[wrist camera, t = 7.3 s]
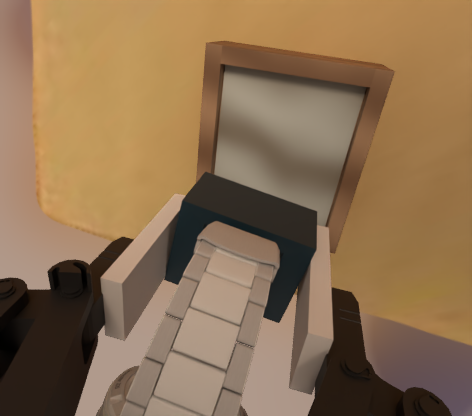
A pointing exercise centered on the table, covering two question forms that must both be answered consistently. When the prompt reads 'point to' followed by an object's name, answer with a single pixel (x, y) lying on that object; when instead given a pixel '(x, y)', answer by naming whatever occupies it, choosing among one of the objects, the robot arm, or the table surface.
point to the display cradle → (290, 124)
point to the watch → (217, 300)
